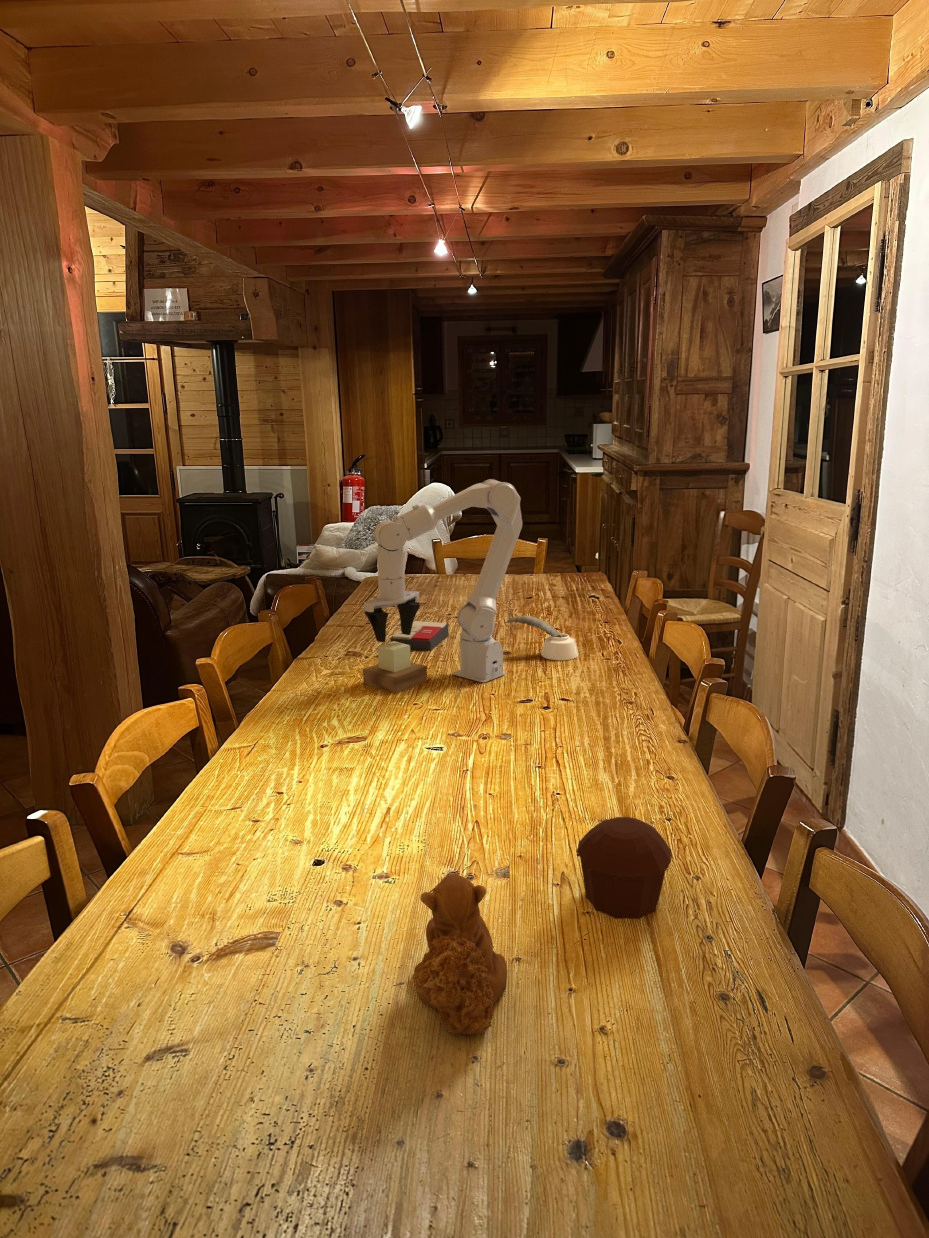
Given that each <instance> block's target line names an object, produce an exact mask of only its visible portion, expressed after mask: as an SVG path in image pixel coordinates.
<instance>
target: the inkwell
mask: <svg viewBox="0 0 929 1238" xmlns="http://www.w3.org/2000/svg"><path fill="white" fill-rule="evenodd" d="M509 623H521V624H523V625H524V624H526V625H527V626H529V627H534V628H538V629H539V630H541V631H543V632H545V634H546V635H549V636H548V637H546V638H545V640H544V642H543V646H542V649H541V653H540V656H541V657H543V658H544V659H546V660H551V661H569V660H574V658H575V659H577V658H578V657H579V651H578V646H577V643H576V639H574V638H573V637H572V636H570V635H569V634H567V633H564V632H563V633H561V632H559V631H558V630H557V629H556V628H554V626H553V625H551V624H549V623H548V622H546V621H544V620H543V619H539V618H537V617H535V616H531V615H520V616H515V617H511V618H509V619H508V620H506V621H505V622H504V624H509Z"/></svg>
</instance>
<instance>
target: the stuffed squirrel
mask: <svg viewBox="0 0 929 1238" xmlns="http://www.w3.org/2000/svg"><path fill="white" fill-rule="evenodd" d="M486 894H487V888H486V886H483V885H480V884H477V885H474V884H473V882H472V881H471V880H470V879H468V878H466V877H464V876H462V875H460V874H457V873H450V874H448V875H445V876H443V878H442V879H441V880H440V882H439V883H437V884H436V886H435V887H433V888H432V889H431V890H430V891H425V892H423V893H421V894H420V896H419V897H420V898H419V899H420V902H421V903H422V904H423V905H425V906H426V907H427V908H428V909H429V910H430V911H431V915H432V918H430V919H429V921H428V922H427V924H426V927H425V937H426V942H427V948H428V952H426V953H424V954H423V957H422V958H423V959H422V960H421V962H419V963H417V965H415V967H414V970H413V974H412V976H411V979H412V980H413V982H414V985H415V990H414V991H413V993H414V994H416V993H417V996H418V998H419V1000H420V1001H421V1002H422V1003H424V1004H425V1005H427V1006H429V1007H431V1008H433V1009H435V1010H437V1011H438V1016H439V1022H440V1025H442V1026H445V1028H446V1031H448V1032H449V1033H451V1034H453V1035H454V1034H463V1035H464V1036H465V1035H468V1036H469V1035H470V1036H471V1035H481V1034H482V1033H485V1032H487V1030H488V1029H489V1028H492V1026H493V1024H492V1020H493V1016H494V1004H495V1002H497V1000H498V999H499V998H500V997H502V995H503V994H504V993H505V991H506V990H507V981H508V966H507V961H506V959H505V957H504V955H503V954H500V953H496V952H495V951H494V945H493V942H494V941H493V939H492V936H491V933H490V931H489V930H490V929H489V928H488V926H487V924H486V922H485V920H484V919H483V918H482V915H481V911H480V907H479V905H480V903H481V902H482V901H483V899H484V897H485V896H486Z"/></svg>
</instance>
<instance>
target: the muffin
mask: <svg viewBox="0 0 929 1238" xmlns="http://www.w3.org/2000/svg"><path fill="white" fill-rule="evenodd" d="M576 853H577V855H578V856H579V858H580V863H581V865H580V867H581V872H582V878H583V884H584V891H585V898H586V899H587V901H588V902H589V903H590V904H591V906H592V907H593V909H594V911H596V912H599V913H602V914H604V915H606V916H608V917H611V918H613V919H615V920H616V919H620V920H621V919H629V920H640V919H641V918H643V917H645V916H647V915H650V914H653V913H655V912H656V911H657V907H658V903H659V900H660V897H661V892H662V888H663V884H664V881H665V880H664V878H665V875H666V870H667V868H668V867H669V866H670V864H671V862H672V849H671V848H670V846H669V845H668V843H667V842H666V840H665V839H664V837H663V836H662V835H661V833H660V832H659V831H658V830H657V829H656V828H655V827H654V826H653V825H651V824H649V823H647V822H644V821H643V820H641V819H638V818H636V817H630V816H615V817H613V818H609V819H606V820H603V821H601V822H598V823H597V824H596V825H595V826H593V827H592V828H591V829H589V831H587V833H585V835H583V837H582V838H581V839H580V840H579V842H578V844H577V849H576Z"/></svg>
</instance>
